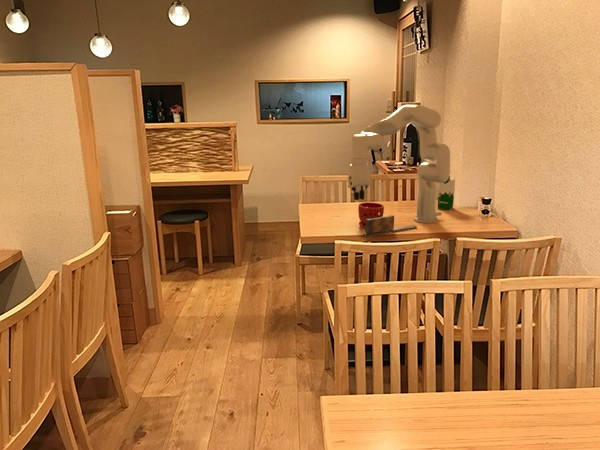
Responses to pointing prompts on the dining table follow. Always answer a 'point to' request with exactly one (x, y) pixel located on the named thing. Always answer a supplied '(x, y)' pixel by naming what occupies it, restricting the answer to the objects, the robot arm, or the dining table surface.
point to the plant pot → (369, 212)
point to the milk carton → (446, 194)
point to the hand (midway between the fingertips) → (359, 199)
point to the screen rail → (390, 230)
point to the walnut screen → (379, 224)
